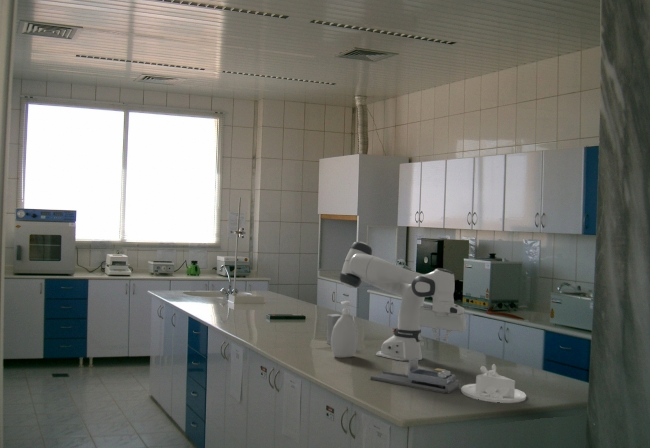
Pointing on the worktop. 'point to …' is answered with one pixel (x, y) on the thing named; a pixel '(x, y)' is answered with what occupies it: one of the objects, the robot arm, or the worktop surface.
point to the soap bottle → (344, 335)
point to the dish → (493, 388)
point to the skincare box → (331, 325)
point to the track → (404, 380)
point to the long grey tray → (426, 375)
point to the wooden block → (438, 370)
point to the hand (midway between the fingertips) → (441, 339)
